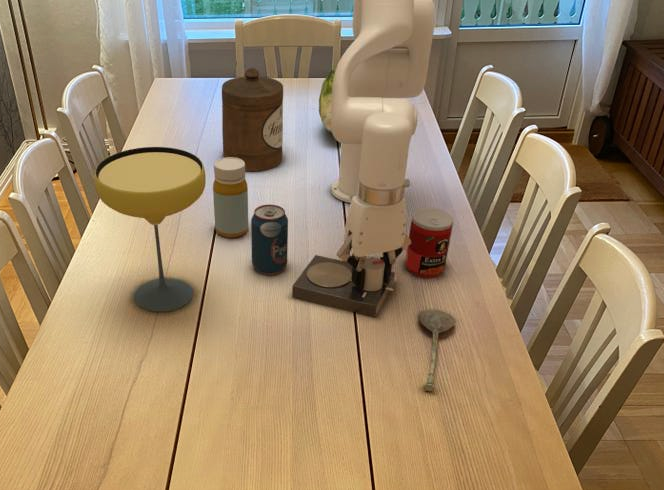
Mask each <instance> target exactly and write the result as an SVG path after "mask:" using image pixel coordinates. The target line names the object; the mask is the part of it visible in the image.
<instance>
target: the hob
mask: <svg viewBox="0 0 664 490" xmlns="http://www.w3.org/2000/svg"><path fill="white" fill-rule="evenodd" d="M325 262H331V263H337V264H341V265H343V266H345V267H347V268H348V269H349V270H350V271H351V273H352V266H351V265H350V264H349V263H347V262H345V261H343V260H341V259H336V258H330V257H327V256H323V255H317V254H315V255H314V257H313V258H311V260H310V262H309V263H308V264H307V265H306V267H305V268H304V270H303V271H302V272H301V274H300V275H299V277H298V278H297V279H296V280H295V282H294V283H293V285H292V288H291V289H292V290H291V291H292V292H291V293H292V294H291V297H292V298H294V299H298V300H303V301H306V302H311V303H315V304H319V305H323V306H326V307H327V306H328V307H331V308H336V309H338V310H339V309H340V310H344V311H348V312H351V313H356V314H359V315H363V316H368V317H372V318H376V317H377V315H378V313H379V312H380V310H381V308H382V306H383V304H384V302H385V301H386V298H387V296H388V294H389V293H390V291H392V292H393V291H394V288H392V287H393V286H394V283H395V277H396V276H395V275H396V272H395V271H391V276H390V279H389V283H388V284H385V283H384V282H383V286H382V288H381V289H380V290H377V291H366V290H363V289H362V290H359V289H358V287H357V286H356V285H355V284H354V283H353V282H352V278H351V280H350V282H349V283H348V284H346V285H344V286H341V287H337V288H325V287H320V286H317V285H315V284H313V283H311V282H310V281H309V280H308V278H307V271H308V269H309V268H310V267H312V266H313V265H315V264H319V263H325Z"/></svg>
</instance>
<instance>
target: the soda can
mask: <svg viewBox="0 0 664 490" xmlns="http://www.w3.org/2000/svg"><path fill="white" fill-rule="evenodd" d="M250 225H251V226H250V227H251V228H250V230H251V234H250V235H251V264H252V265H253V267H254V268H255V270H256V271H257V272H258V273H260V274H263V275H277V274H279V273H281V272H283V270H284V269H285V267H286V266H287V264H288V247H289V246H288V244H289V219H288V216H287V214H286V210H285V209H284V208H283V207H282V206H279V205H277V204H262V205H259V206H257V207H256V208H255V209H254V212H253V215H252V217H251V219H250Z"/></svg>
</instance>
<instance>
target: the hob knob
mask: <svg viewBox="0 0 664 490" xmlns="http://www.w3.org/2000/svg"><path fill="white" fill-rule="evenodd" d="M363 269H364V270H365V280H364V288H363V290H366V291H377V290H380V289H381V288H382V286H383V277H384V269H385V263H384V260H383V259H382V260H381V259H380V258H378V257H373V256H372V257H366V260H365V263H364V266H363Z"/></svg>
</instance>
